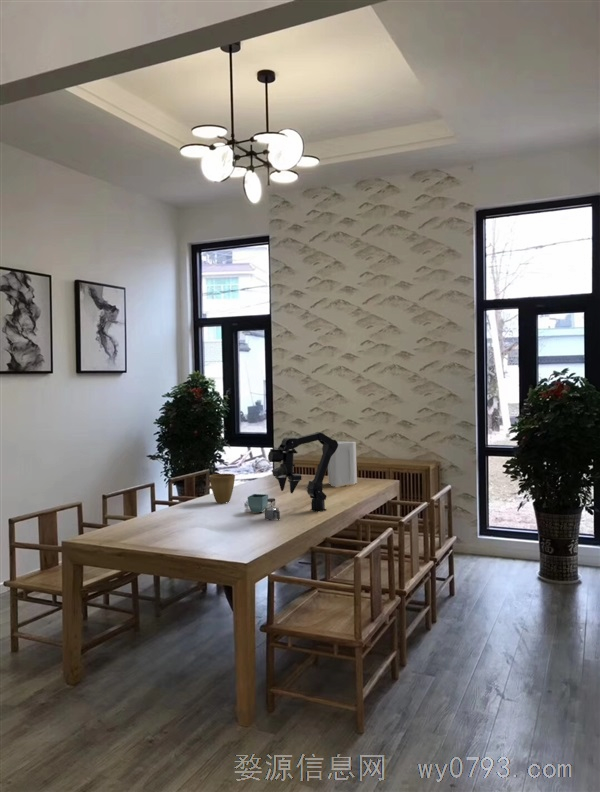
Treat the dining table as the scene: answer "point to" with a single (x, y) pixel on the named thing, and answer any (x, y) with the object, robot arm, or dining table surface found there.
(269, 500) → the dark round piece
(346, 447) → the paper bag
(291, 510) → the dining table surface
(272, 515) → the grey octagonal mug
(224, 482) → the plant pot
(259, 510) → the flower pot
